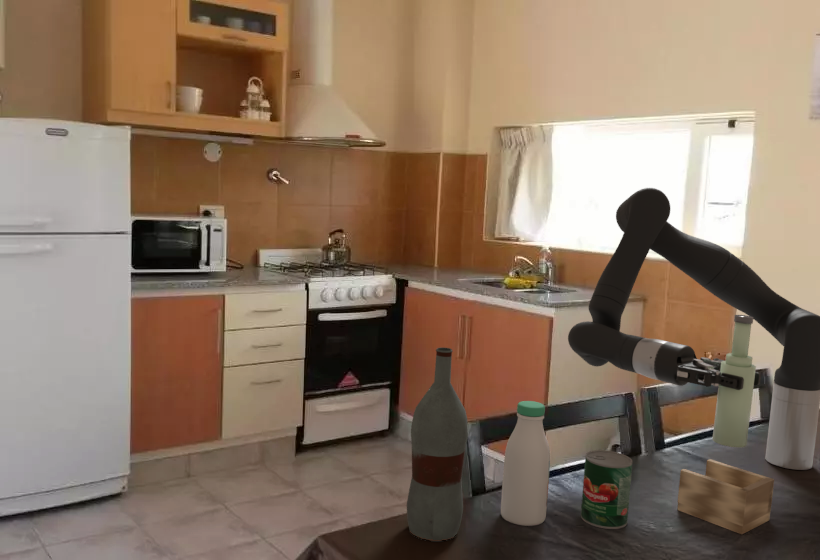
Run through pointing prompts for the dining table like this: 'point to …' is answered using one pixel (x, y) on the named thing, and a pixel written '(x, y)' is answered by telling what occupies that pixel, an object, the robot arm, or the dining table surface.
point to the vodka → (437, 457)
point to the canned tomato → (606, 489)
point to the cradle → (726, 496)
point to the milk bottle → (526, 468)
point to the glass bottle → (734, 402)
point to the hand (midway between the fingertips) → (750, 381)
